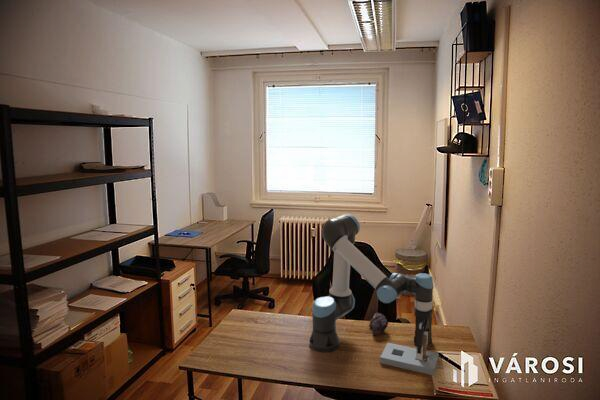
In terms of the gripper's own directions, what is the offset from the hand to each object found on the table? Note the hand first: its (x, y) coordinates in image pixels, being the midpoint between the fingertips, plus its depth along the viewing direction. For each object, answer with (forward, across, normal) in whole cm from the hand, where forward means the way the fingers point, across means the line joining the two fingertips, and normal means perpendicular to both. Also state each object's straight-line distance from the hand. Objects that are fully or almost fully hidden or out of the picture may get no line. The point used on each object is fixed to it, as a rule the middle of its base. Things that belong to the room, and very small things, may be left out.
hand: (421, 351), depth 190 cm
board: (+6, 0, +6) cm, 8 cm away
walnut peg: (+6, 0, 0) cm, 6 cm away
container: (+6, +19, +2) cm, 20 cm away
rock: (+6, +22, +26) cm, 35 cm away
